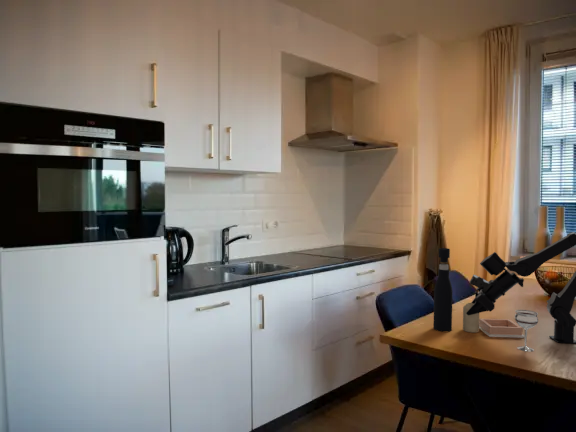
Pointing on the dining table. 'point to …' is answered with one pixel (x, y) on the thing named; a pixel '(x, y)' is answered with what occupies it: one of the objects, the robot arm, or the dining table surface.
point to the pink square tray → (501, 328)
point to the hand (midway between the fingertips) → (467, 312)
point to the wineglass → (526, 324)
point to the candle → (470, 320)
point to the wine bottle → (443, 295)
